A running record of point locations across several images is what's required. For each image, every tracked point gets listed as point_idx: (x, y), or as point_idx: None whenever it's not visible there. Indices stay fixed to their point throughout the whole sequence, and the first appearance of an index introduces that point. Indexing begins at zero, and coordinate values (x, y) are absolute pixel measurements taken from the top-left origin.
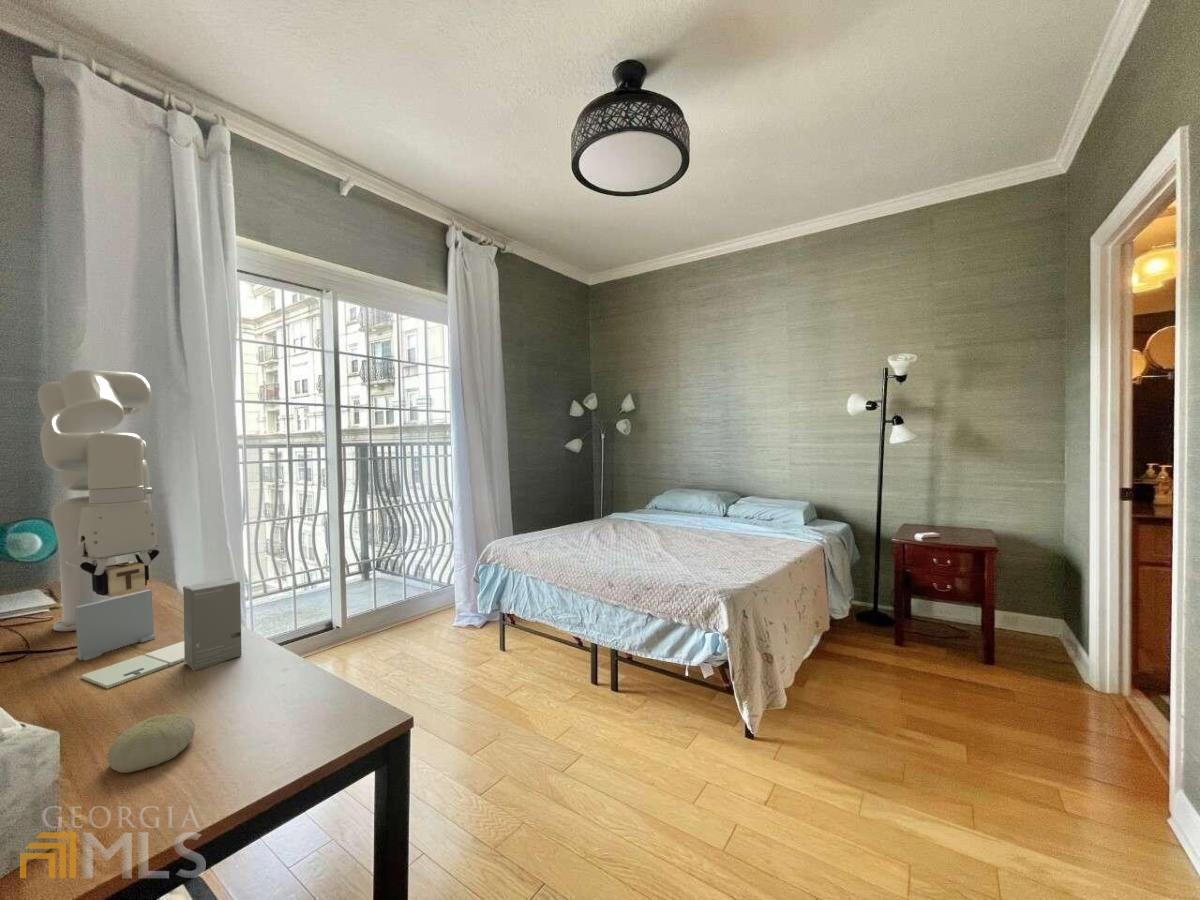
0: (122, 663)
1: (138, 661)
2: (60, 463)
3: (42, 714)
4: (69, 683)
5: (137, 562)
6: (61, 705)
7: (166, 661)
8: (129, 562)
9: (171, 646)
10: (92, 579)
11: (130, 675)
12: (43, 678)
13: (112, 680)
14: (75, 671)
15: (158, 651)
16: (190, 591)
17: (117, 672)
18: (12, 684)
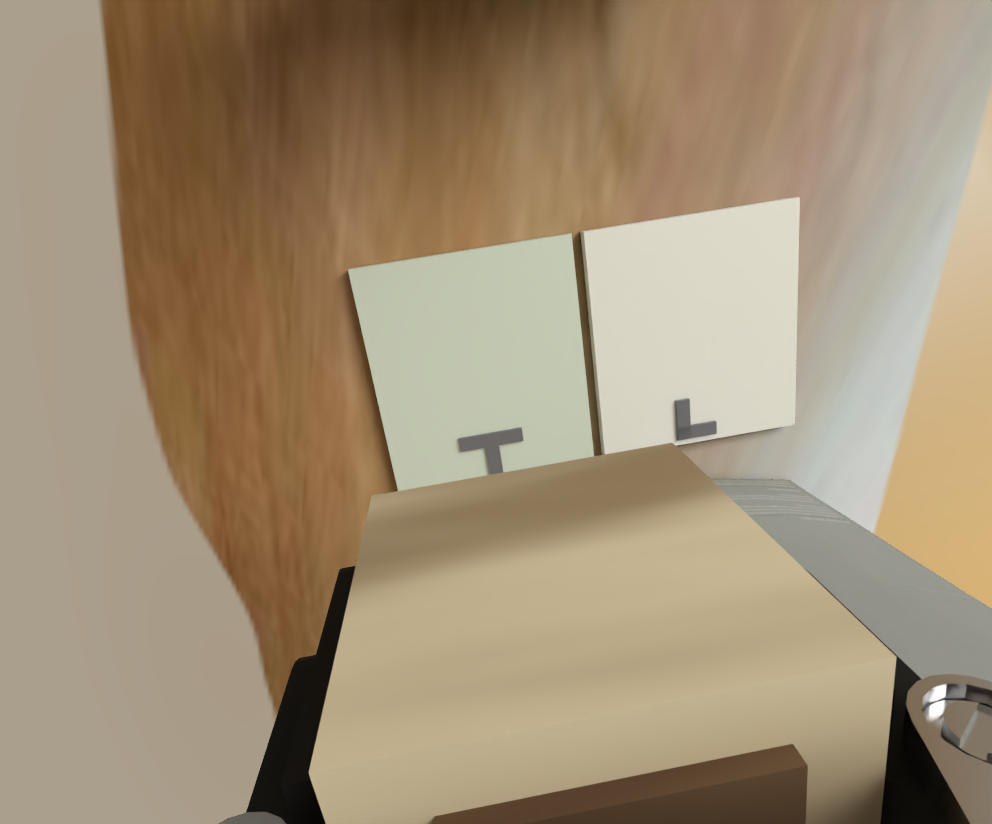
0: (489, 274)
1: (536, 317)
2: None
3: (224, 533)
4: (308, 285)
5: (894, 808)
6: (273, 506)
7: (601, 419)
8: (834, 723)
9: (683, 237)
10: (261, 789)
11: (474, 462)
12: (227, 81)
13: (420, 457)
14: (341, 125)
15: (627, 254)
16: None
17: (451, 379)
18: (113, 23)
